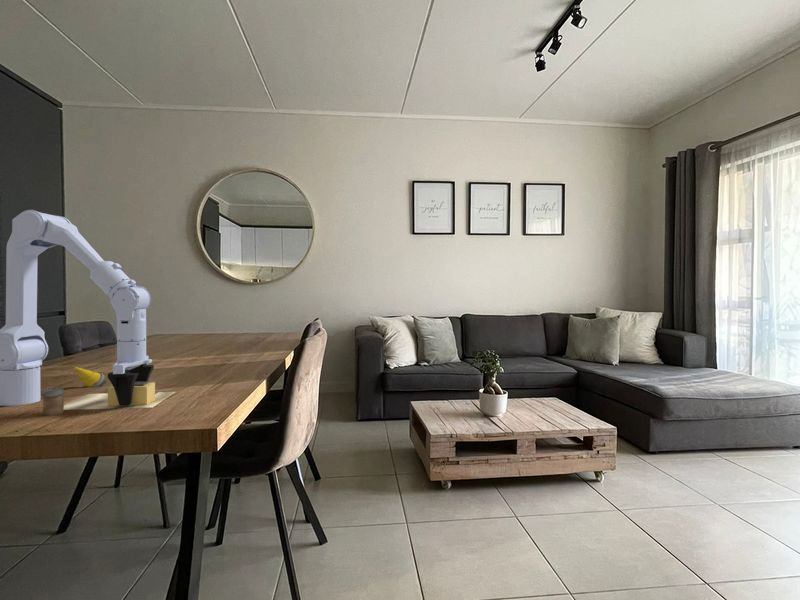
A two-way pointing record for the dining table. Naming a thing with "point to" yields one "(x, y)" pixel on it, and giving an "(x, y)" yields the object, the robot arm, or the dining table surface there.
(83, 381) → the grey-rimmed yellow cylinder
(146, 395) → the stud finder
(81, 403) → the panel
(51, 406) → the brown cylindrical piece
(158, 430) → the dining table surface
